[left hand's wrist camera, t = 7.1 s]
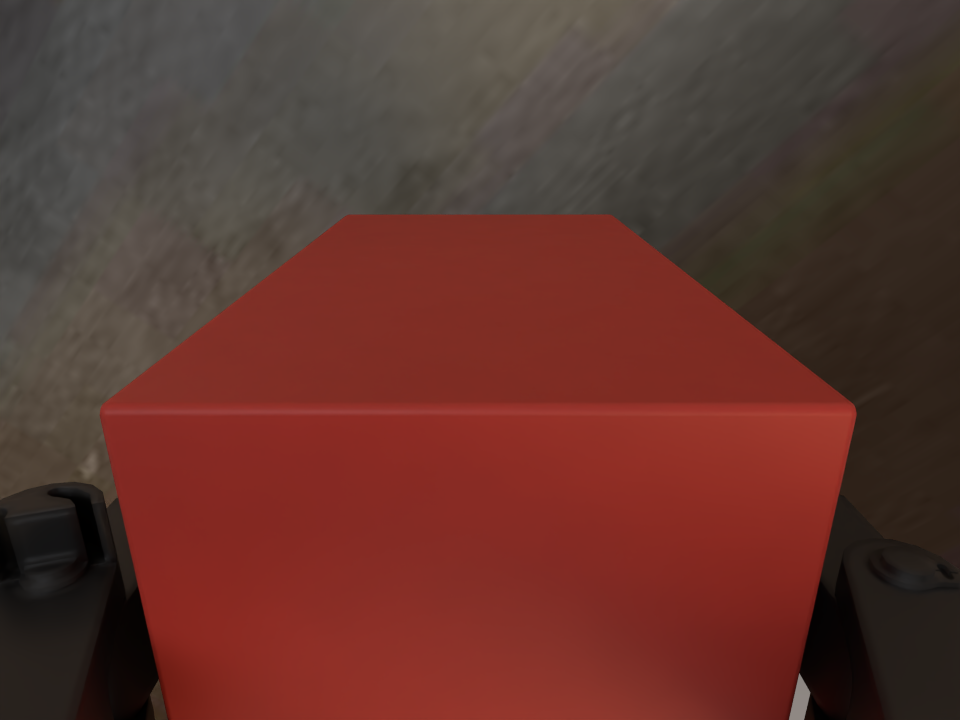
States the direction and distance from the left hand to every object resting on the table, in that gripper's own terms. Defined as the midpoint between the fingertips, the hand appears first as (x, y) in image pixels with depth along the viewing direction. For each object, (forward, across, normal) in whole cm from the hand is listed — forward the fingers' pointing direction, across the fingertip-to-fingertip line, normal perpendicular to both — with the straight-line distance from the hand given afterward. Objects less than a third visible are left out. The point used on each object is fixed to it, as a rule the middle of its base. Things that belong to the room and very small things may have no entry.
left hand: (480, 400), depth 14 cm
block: (+3, 0, 0) cm, 3 cm away
